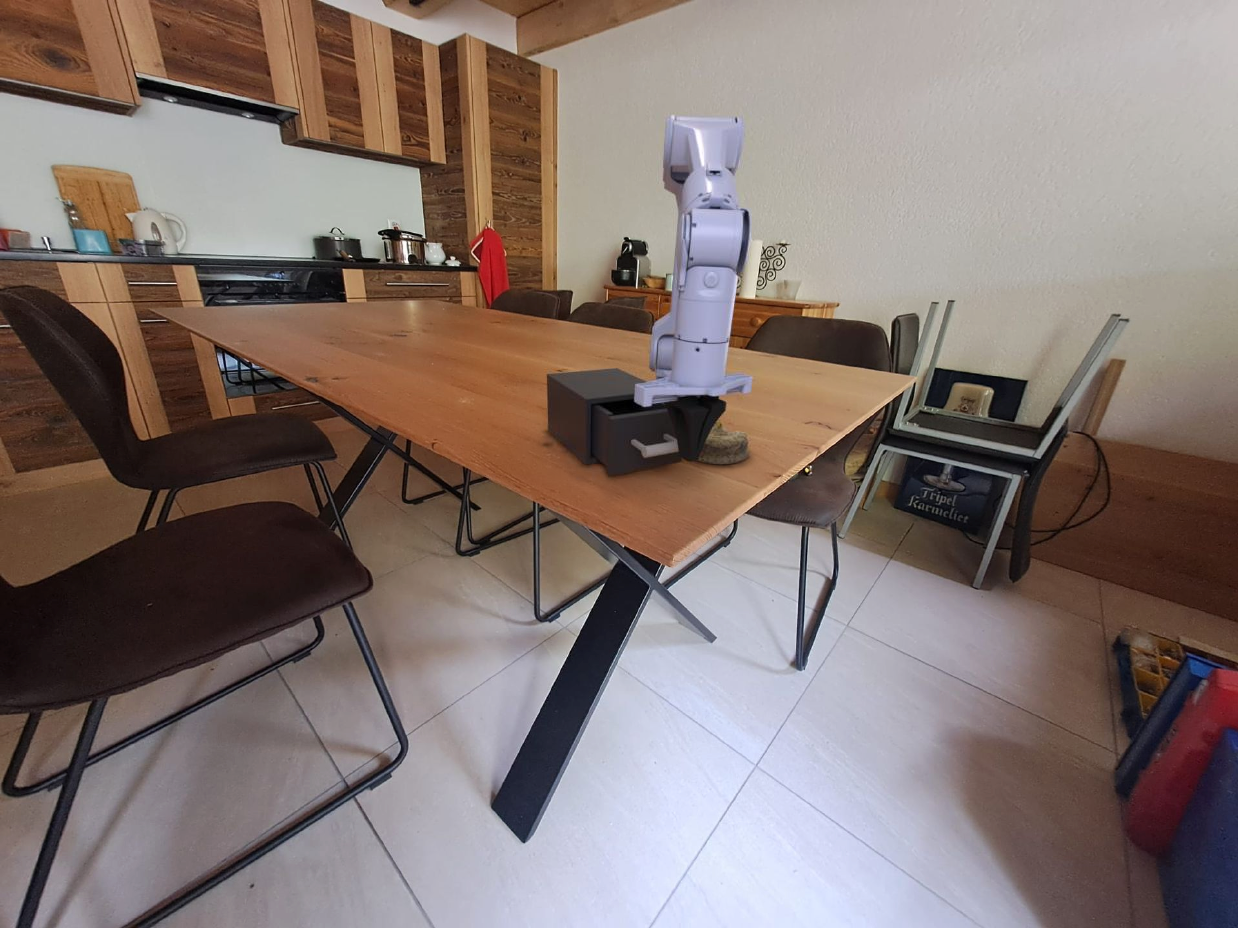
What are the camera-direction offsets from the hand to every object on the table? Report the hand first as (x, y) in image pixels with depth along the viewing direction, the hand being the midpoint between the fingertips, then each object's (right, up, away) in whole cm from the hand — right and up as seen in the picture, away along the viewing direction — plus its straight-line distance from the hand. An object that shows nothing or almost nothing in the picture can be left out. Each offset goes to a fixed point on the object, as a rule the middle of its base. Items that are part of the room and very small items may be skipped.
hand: (688, 458), depth 55 cm
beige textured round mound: (+7, +1, +18) cm, 19 cm away
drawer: (-6, 0, +12) cm, 14 cm away
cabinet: (-11, +3, +20) cm, 23 cm away
